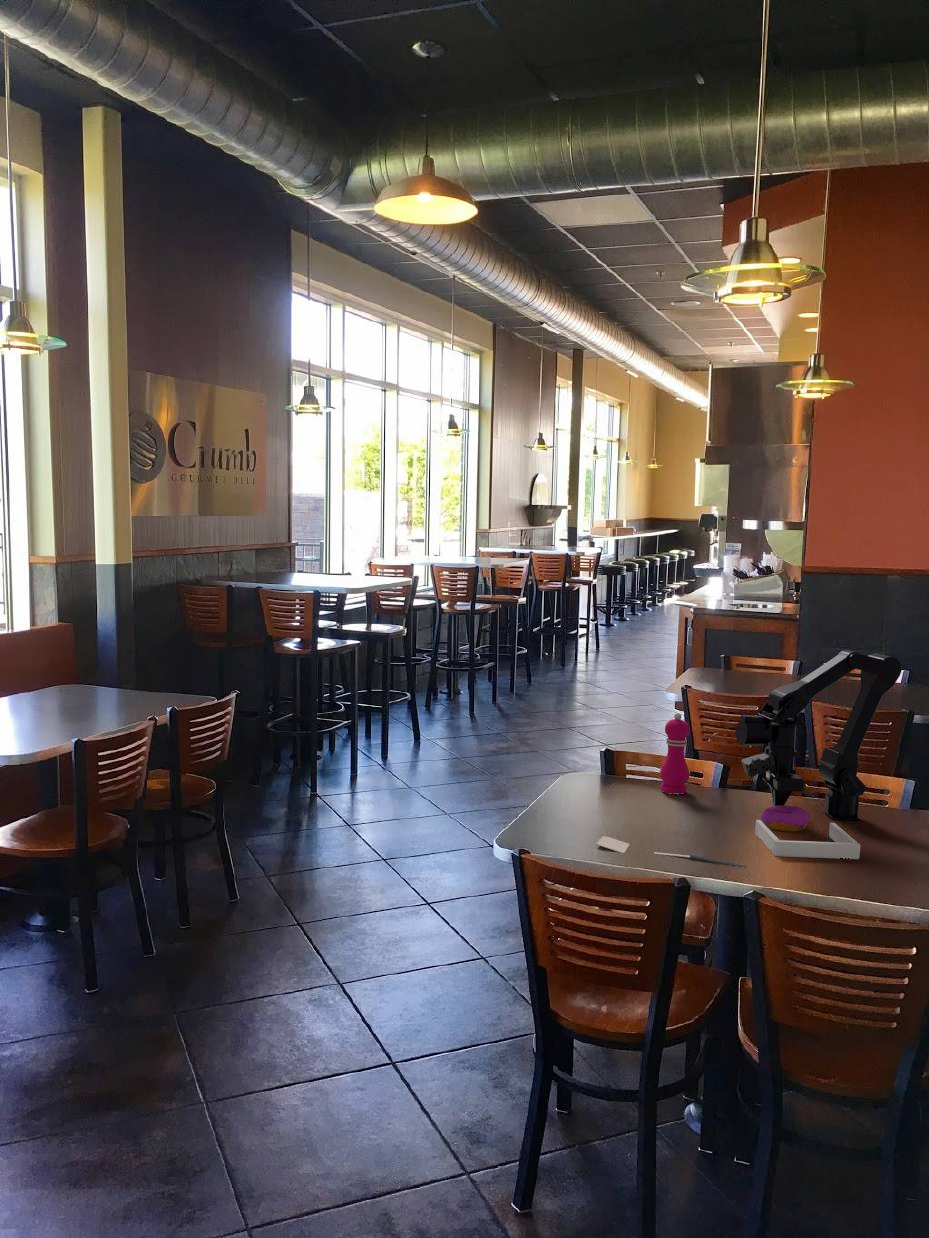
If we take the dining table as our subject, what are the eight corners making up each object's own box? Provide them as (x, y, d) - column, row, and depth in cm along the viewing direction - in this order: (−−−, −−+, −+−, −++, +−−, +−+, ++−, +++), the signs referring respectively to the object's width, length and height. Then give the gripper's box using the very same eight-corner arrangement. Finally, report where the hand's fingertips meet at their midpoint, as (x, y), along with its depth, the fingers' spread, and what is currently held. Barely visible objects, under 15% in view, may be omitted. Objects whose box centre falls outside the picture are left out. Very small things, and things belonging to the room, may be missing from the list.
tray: (833, 836, 210) (834, 822, 210) (859, 859, 196) (860, 844, 196) (755, 833, 211) (755, 819, 210) (775, 855, 196) (776, 841, 196)
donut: (773, 818, 223) (775, 798, 223) (817, 828, 216) (818, 808, 216) (753, 827, 215) (754, 807, 215) (797, 838, 209) (799, 817, 208)
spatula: (603, 842, 203) (603, 835, 203) (748, 865, 192) (748, 857, 192) (595, 850, 197) (596, 843, 197) (744, 874, 186) (745, 867, 186)
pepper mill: (691, 796, 238) (695, 716, 237) (661, 795, 239) (666, 715, 237) (685, 788, 246) (689, 710, 244) (656, 787, 246) (660, 709, 244)
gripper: (736, 734, 231) (732, 798, 232) (757, 752, 212) (753, 822, 214) (783, 736, 230) (778, 800, 232) (808, 754, 212) (803, 824, 213)
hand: (777, 811), depth 223 cm, fingers closed
